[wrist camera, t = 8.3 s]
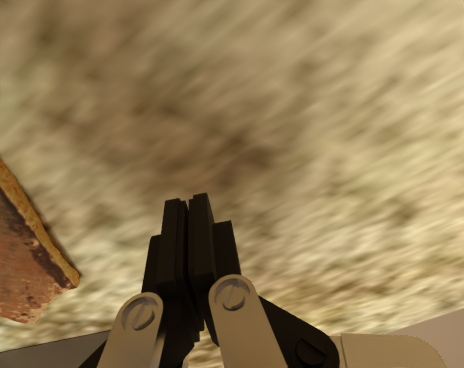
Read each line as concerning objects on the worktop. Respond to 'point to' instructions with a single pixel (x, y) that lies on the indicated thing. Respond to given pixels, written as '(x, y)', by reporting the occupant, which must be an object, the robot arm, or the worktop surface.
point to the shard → (27, 257)
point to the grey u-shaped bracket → (54, 353)
